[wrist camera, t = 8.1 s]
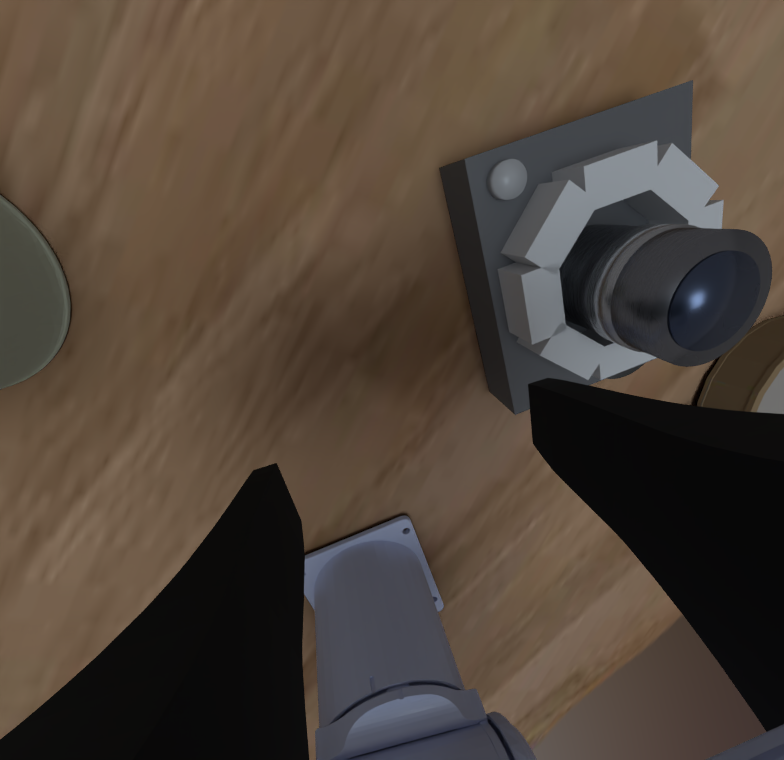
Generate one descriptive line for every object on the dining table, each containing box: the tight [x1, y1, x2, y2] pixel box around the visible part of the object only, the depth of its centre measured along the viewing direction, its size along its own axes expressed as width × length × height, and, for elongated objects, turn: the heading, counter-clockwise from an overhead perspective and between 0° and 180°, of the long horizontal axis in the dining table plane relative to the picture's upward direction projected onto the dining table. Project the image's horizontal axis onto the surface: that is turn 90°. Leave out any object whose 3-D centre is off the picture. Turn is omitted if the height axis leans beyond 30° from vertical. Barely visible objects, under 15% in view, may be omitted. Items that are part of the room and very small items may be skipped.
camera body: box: [439, 80, 723, 415], centre depth 18 cm, size 12×10×5 cm
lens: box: [559, 224, 772, 367], centre depth 15 cm, size 5×5×6 cm
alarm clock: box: [697, 316, 784, 414], centre depth 27 cm, size 11×5×15 cm
